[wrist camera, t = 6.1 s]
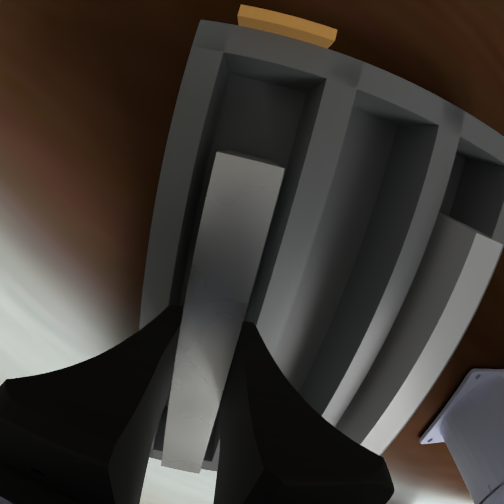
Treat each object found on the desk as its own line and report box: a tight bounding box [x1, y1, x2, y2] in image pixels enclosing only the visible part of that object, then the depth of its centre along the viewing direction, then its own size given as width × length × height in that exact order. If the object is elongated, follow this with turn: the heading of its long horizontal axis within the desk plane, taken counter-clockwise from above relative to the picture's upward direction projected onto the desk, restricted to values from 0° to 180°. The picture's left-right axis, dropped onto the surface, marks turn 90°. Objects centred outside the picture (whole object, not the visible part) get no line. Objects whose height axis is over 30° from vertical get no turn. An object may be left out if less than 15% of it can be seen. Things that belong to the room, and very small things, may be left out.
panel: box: [161, 150, 285, 473], centre depth 11 cm, size 12×2×5 cm, turn 166°
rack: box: [139, 4, 504, 471], centre depth 13 cm, size 14×20×6 cm, turn 166°
